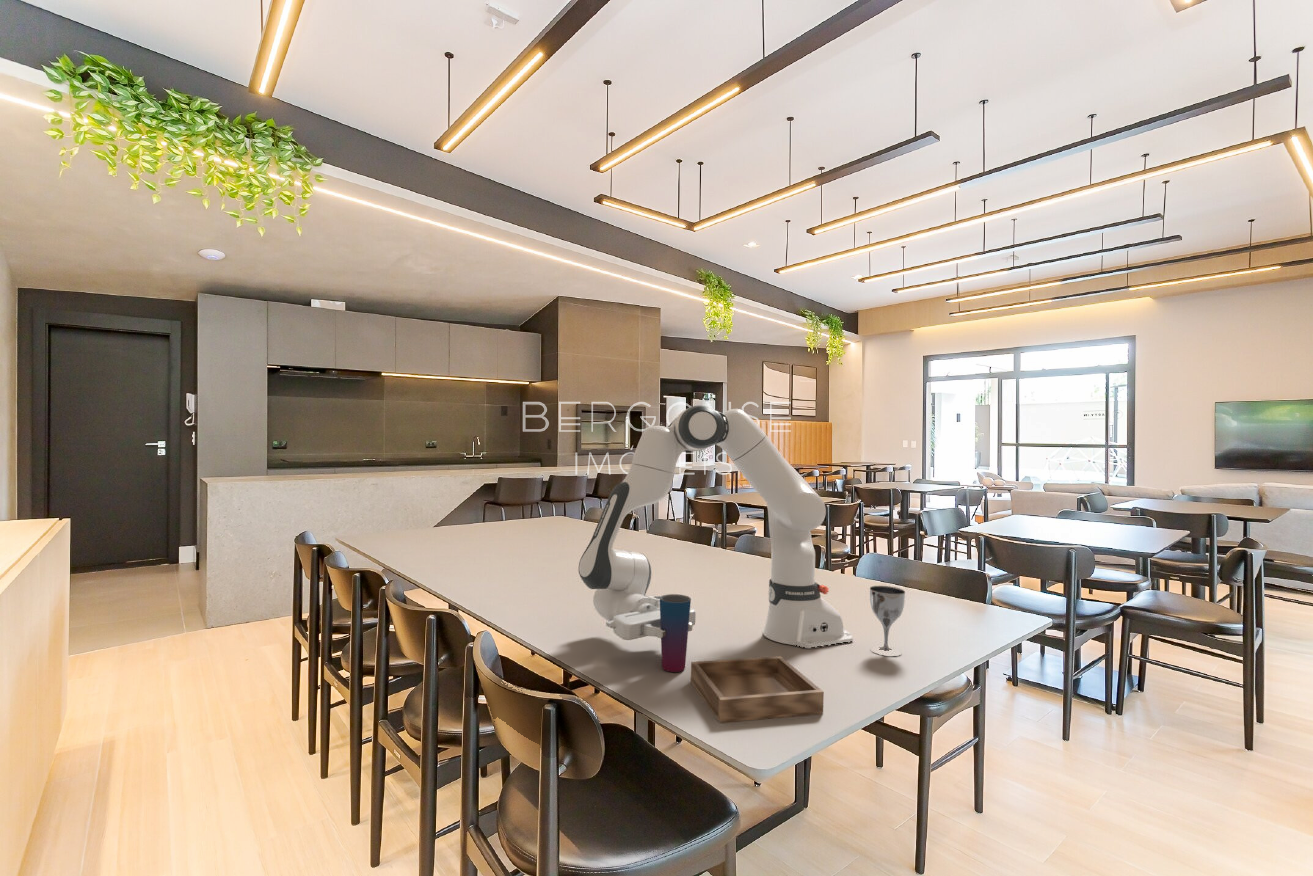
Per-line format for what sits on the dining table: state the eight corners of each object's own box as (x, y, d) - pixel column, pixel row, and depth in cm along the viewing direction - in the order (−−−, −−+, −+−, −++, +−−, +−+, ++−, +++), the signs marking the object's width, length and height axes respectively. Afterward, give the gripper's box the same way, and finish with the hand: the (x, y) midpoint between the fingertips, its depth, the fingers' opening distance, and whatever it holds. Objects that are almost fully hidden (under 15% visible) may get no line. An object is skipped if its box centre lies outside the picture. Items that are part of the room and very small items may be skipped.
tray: (780, 675, 124) (780, 656, 124) (823, 713, 107) (823, 691, 107) (690, 681, 120) (691, 661, 120) (720, 722, 102) (720, 700, 102)
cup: (686, 675, 122) (688, 603, 122) (654, 671, 123) (656, 601, 123) (691, 663, 129) (692, 595, 129) (661, 660, 130) (662, 593, 130)
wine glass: (862, 646, 144) (864, 585, 144) (893, 645, 145) (894, 585, 145) (877, 657, 136) (879, 593, 136) (910, 657, 137) (911, 594, 137)
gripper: (602, 608, 130) (638, 624, 119) (673, 595, 142) (711, 608, 131) (601, 636, 130) (637, 655, 119) (672, 620, 142) (711, 636, 131)
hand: (677, 630), depth 125 cm, fingers closed on cup, 6 cm apart
